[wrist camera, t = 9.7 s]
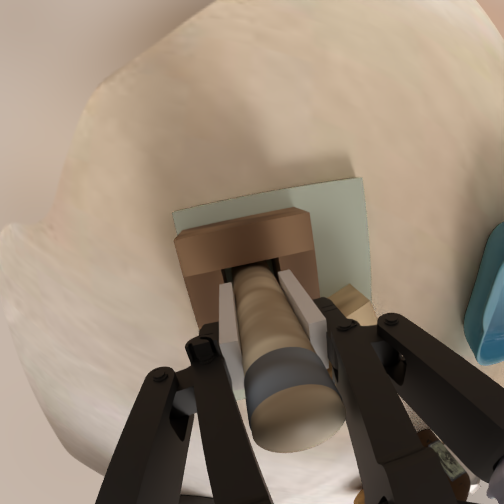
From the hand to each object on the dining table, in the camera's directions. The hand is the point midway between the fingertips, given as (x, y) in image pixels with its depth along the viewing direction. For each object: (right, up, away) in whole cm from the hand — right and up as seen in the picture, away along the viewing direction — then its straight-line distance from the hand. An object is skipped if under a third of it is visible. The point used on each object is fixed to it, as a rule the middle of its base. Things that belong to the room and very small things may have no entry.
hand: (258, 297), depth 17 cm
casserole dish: (+44, -3, +13) cm, 46 cm away
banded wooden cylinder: (-1, +1, +5) cm, 6 cm away
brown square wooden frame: (-1, +1, +5) cm, 6 cm away
